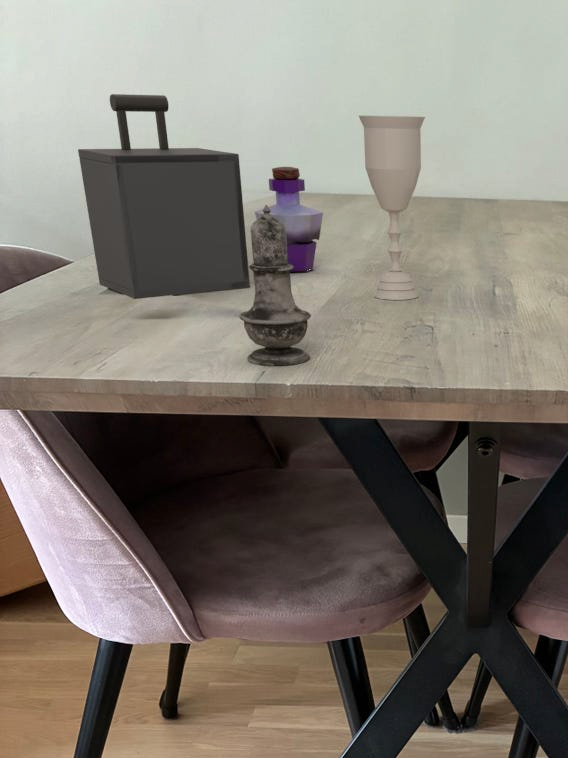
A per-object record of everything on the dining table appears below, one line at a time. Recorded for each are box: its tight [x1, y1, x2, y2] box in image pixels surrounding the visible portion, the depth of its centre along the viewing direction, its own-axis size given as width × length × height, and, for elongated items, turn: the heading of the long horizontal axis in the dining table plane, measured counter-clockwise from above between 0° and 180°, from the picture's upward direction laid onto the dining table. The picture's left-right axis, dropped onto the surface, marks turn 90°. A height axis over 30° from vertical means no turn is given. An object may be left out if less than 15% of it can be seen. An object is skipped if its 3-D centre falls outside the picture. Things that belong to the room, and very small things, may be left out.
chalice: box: [358, 115, 426, 301], centre depth 104 cm, size 7×7×18 cm
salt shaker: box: [238, 204, 312, 367], centre depth 79 cm, size 6×6×12 cm
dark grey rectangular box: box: [77, 93, 251, 300], centre depth 106 cm, size 19×14×10 cm
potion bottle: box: [254, 166, 324, 274], centre depth 121 cm, size 9×9×12 cm
